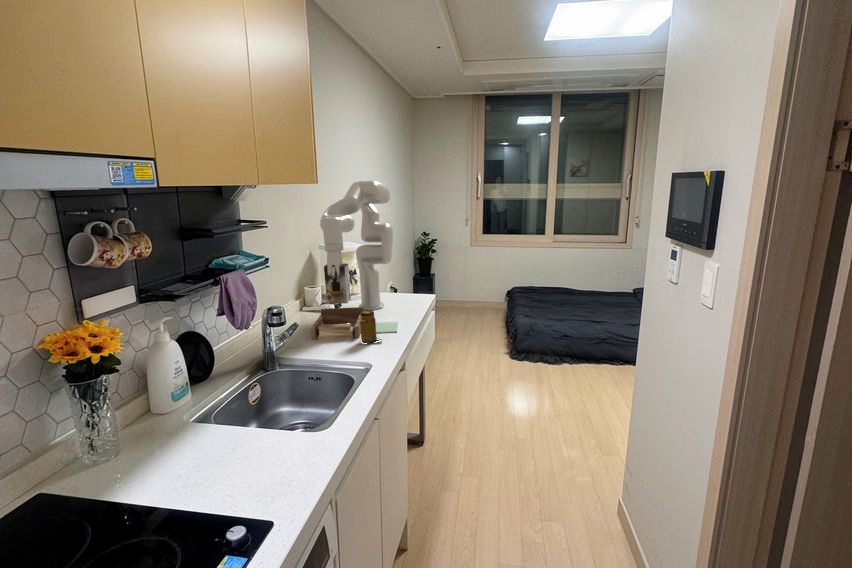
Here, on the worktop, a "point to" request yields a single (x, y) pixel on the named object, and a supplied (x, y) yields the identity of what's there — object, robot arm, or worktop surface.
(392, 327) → the mat
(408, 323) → the worktop surface
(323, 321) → the rack
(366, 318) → the condiment
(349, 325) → the offcut stack
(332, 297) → the coffee box
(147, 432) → the worktop surface
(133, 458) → the worktop surface
